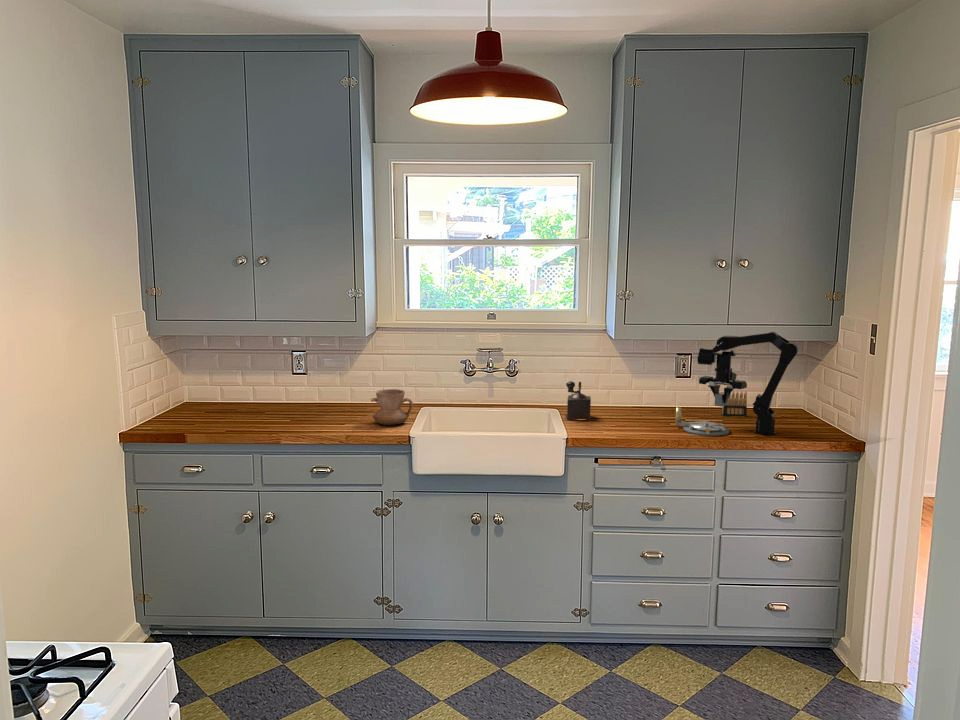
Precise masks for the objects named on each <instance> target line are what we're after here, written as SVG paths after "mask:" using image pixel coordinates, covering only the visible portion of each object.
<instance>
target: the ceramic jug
mask: <svg viewBox="0 0 960 720" xmlns="http://www.w3.org/2000/svg"><path fill="white" fill-rule="evenodd" d="M405 393H406V391H405V390H404V389H399V388H398V389H397V388H388V389H386V388H385V389H381V390H377V391H376V392H375V396H376V397H372V398H370V402H375V403H377V404H379V406H380V409H379V410H377V411H376V412H375V413H373V414H372V418H373V420H374V421H375V423H377V424H380V425H382V424H383V426H397V425H400V424H403V423H405V422H406V421H407V420H408V418H409V417H410V413H411V412H412V410H413V407H414V402H413V400H412V398H409V397H405ZM404 397H405V398H404ZM405 402H408V403H409V408H408V410H407V412H406V411H405V410H403V409H402V408H401V407H402V405H403V404H404V403H405ZM396 424H397V425H396Z"/></svg>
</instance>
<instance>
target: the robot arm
mask: <svg viewBox="0 0 960 720" xmlns="http://www.w3.org/2000/svg"><path fill="white" fill-rule="evenodd" d="M765 343H771V345H773V346H775V347H776V348H777V349H778V350H779V351H780V354H779V359H778V363H777V365H776V367H775V369H774V371H773V373H772V375H771V378H770V379H769V381H768V383H767V385H766V387H765V389H764V391H763V392H762V394H761V393H758V394H757V395H756V397H755V400H754V402H753V403H752V404H751V405H752V406H753V407H752V411H753V413H754V414H755V415H756V416H757V417H756V421H755V430H754V431H753V433H754V432H755V433H754V434H758V433H760V434H759V435H762V434H764V436H766V435H768V436H772V434H773V435H776V434H777V432H776V431H775V426H776V419H774V417H775V415H776V412H775V411H774V410H773V408H771V406H772V402H773V397H774V394H775V393H776V390H777V388H778V386H779V384H780V383H781V380H782V379H783V377H784V374H785V372H786V371H787V369H788V366H789V365H790V364H791V363H792V361H793V360H794V359H795V357H796V356H797V354H798V353H799V352H800V347H799V344H798V343H796V342H794V341H789V340H788V339H786V338H784V337H783V336H781V335H780V334H778V333H777V332H775V331H769V332H765V333H764V332H763V333H757V334H756V333H755V334H749V335H741V336H740V335H738V336H737V335H722V336H721V337H719V338H718V339H717V340H716V345H714V347H713V348H712V349H711V348H710V349H709V348H703V347H701V348H699V349H698V355H697V364H698V365H704V366H705V365H707V366H713V364H715V365H716V366H715V368H714V372H715V377H714V376H709V375H704V376H700V377H699V378H698V384H700V385H707V384H708V385H707V387H708V388H709V389H710V391H711V392H712V394H713V398H715V394H716V393H720V388H721V385H723V386H726V387H724V388H723V392H724V403H726V402H727V400H728V398H729V395H730V393H731V394H732V392H733V390H744V389H747V387H748V384H747V381H746V380H739V379H737V374H736V373H735V372H733V368H732V366H731V365H732V357H736V356H737V353H736V352H735V351H734V350H733V349H735V348H737V347H741V346H749V345H757V344H765ZM728 350H730V351H728ZM720 351H721V353H720Z"/></svg>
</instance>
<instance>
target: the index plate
mask: <svg viewBox="0 0 960 720" xmlns="http://www.w3.org/2000/svg"><path fill="white" fill-rule="evenodd" d="M723 428H725V431H716V432H705V431H699V430H695V429H689V426H683V431H684V432H685V433H688V434H692V435H694V436H695V435H696V436H700V437H701V436H703V437H721V436H720V435H724V436H727V435H729V434H730V429H729V428H727V427H725V426H723Z"/></svg>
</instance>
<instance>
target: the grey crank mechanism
mask: <svg viewBox="0 0 960 720" xmlns="http://www.w3.org/2000/svg"><path fill="white" fill-rule="evenodd" d="M682 410H683V408H682V407H680V406H679V407H675V422H674V423H675V426H681V427H682V426H683V427H684V426H689V429H695V430H699V431H705V432H716V431H725V428H726V427H725V428H723V427H724V423H718V422H713V421H707V420H702V421H700V420H699V421H688V422H687V421H682V417H683V416H682V415H683V413H682V412H683V411H682Z"/></svg>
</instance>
